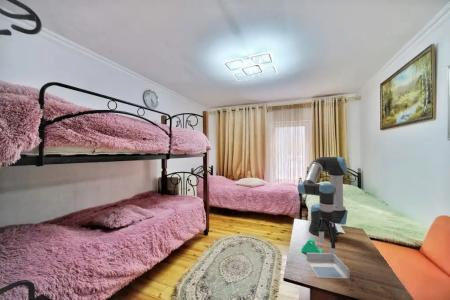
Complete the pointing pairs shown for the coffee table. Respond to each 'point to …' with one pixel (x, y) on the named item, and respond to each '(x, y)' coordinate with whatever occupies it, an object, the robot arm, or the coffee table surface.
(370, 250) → the coffee table surface
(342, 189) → the robot arm
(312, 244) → the camera mount
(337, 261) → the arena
